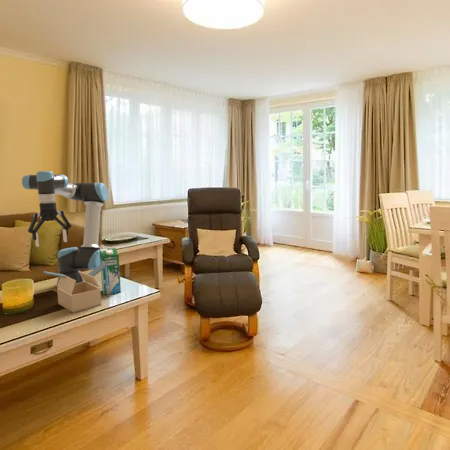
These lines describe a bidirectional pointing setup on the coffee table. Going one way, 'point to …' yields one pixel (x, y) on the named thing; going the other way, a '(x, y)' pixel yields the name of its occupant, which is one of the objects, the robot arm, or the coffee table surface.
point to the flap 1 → (64, 282)
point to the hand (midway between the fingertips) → (51, 243)
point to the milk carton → (110, 271)
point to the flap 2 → (93, 274)
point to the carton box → (80, 297)
